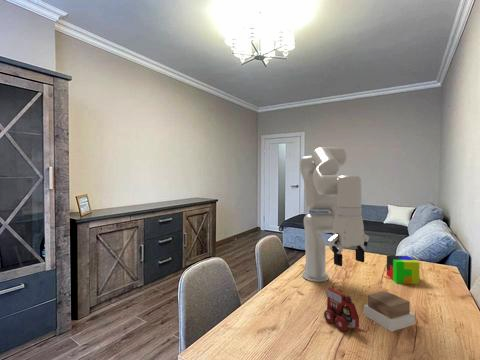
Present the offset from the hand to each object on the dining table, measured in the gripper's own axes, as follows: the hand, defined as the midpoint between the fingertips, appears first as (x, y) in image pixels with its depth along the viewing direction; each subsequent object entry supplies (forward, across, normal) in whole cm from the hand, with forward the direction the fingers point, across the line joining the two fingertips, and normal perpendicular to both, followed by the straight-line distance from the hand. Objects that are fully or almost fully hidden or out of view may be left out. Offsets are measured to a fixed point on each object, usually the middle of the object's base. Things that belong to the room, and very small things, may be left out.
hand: (349, 263), depth 88 cm
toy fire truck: (+21, +2, -2) cm, 21 cm away
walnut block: (+17, -15, +3) cm, 23 cm away
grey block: (+21, -15, +3) cm, 26 cm away
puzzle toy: (+21, -54, -19) cm, 60 cm away
